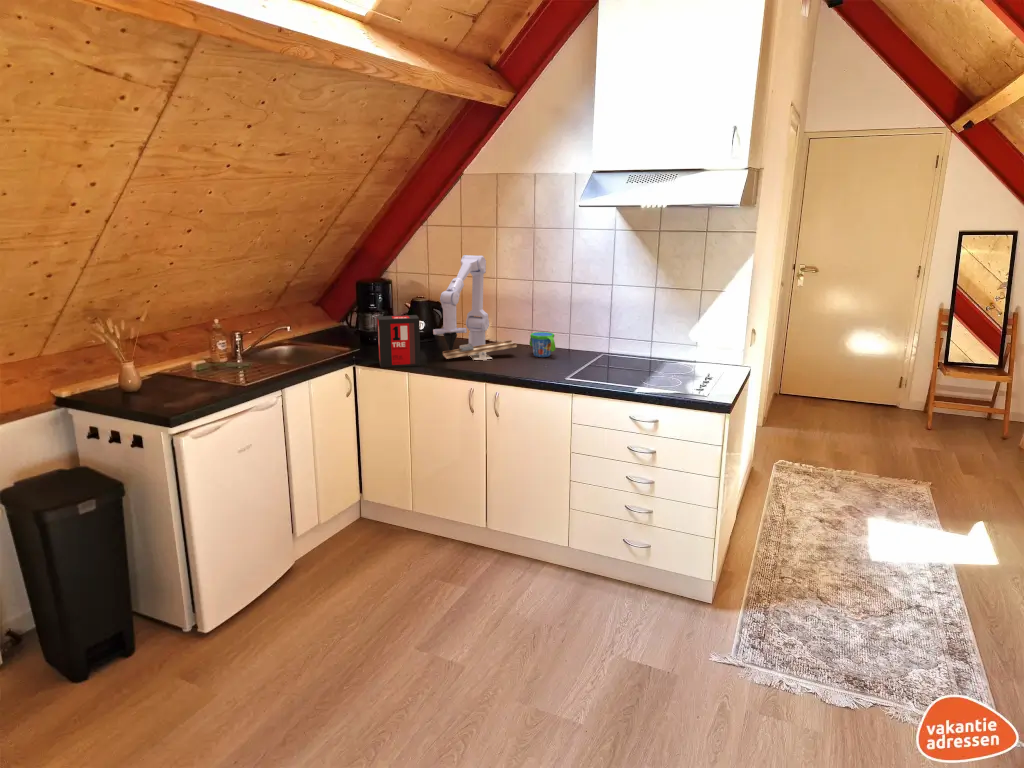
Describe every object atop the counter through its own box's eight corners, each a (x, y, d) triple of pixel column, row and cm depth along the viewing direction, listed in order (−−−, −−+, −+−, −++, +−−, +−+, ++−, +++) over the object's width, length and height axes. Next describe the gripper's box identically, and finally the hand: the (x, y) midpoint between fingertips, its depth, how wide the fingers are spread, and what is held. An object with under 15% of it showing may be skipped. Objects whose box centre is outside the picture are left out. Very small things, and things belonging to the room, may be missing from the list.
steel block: (459, 350, 294) (459, 345, 293) (470, 349, 295) (470, 343, 295) (462, 353, 290) (462, 347, 289) (473, 351, 291) (473, 345, 290)
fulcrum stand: (468, 355, 299) (468, 347, 298) (485, 354, 301) (485, 347, 301) (474, 361, 289) (474, 352, 288) (492, 359, 291) (492, 351, 290)
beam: (446, 359, 287) (446, 354, 286) (443, 355, 293) (442, 351, 293) (516, 347, 296) (516, 343, 295) (511, 344, 302) (511, 340, 302)
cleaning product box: (380, 367, 276) (378, 319, 271) (379, 362, 284) (377, 316, 279) (420, 365, 280) (419, 318, 275) (417, 360, 288) (416, 315, 283)
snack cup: (522, 354, 304) (523, 332, 301) (542, 351, 309) (542, 330, 307) (541, 360, 291) (542, 337, 289) (561, 358, 296) (562, 335, 294)
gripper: (435, 321, 281) (435, 352, 284) (468, 319, 285) (468, 350, 288) (431, 318, 287) (432, 349, 290) (464, 317, 291) (464, 347, 295)
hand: (450, 349), depth 290 cm, fingers closed
